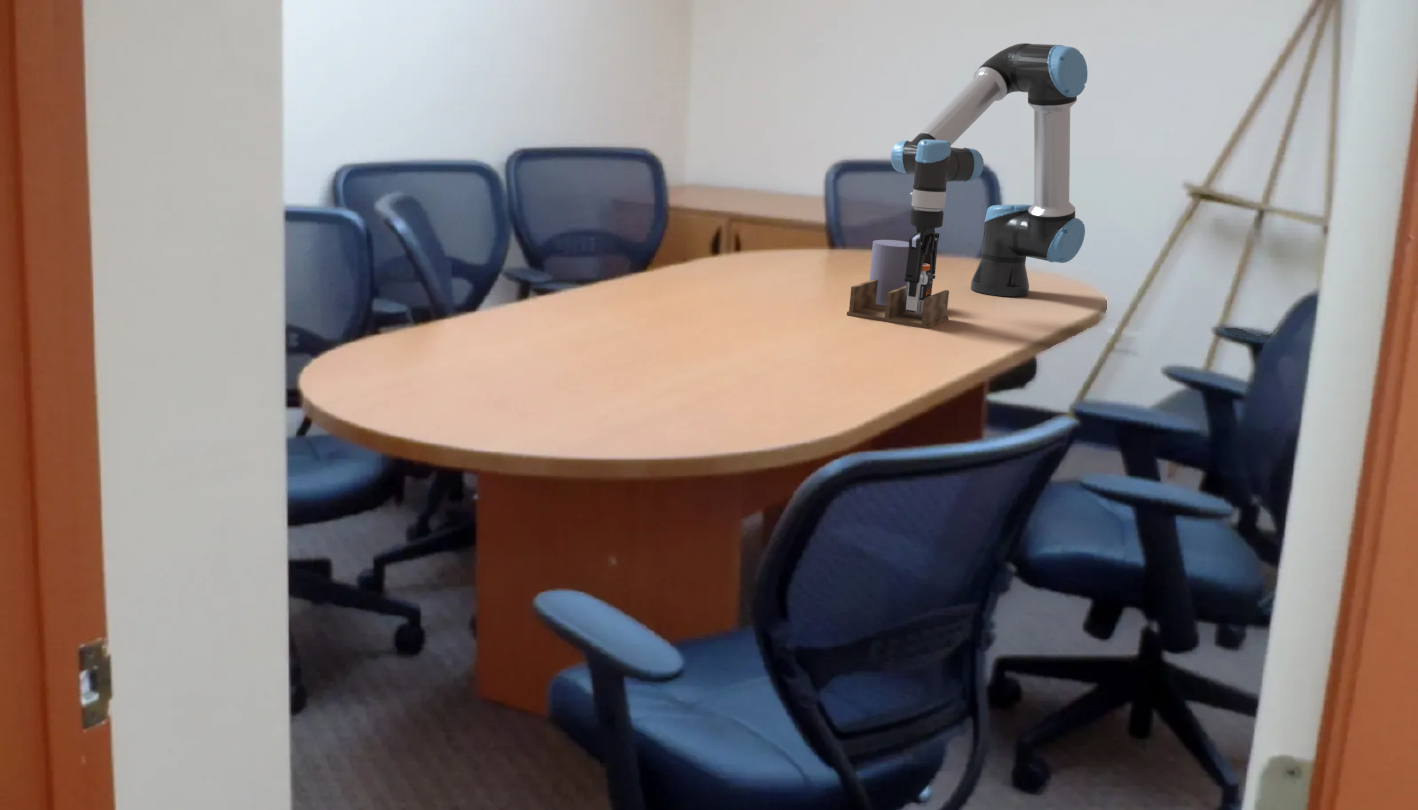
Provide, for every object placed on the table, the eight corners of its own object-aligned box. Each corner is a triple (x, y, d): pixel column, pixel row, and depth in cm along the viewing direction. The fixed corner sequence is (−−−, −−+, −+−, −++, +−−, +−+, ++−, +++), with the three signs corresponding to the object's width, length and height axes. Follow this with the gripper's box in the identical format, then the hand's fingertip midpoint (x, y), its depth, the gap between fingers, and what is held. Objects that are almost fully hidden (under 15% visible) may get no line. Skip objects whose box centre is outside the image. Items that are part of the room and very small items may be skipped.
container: (872, 297, 340) (878, 238, 336) (913, 302, 337) (919, 242, 333) (862, 304, 330) (868, 243, 326) (904, 309, 327) (910, 248, 323)
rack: (869, 306, 329) (872, 278, 327) (948, 319, 319) (951, 290, 318) (846, 315, 317) (849, 286, 315) (927, 328, 308) (930, 299, 306)
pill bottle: (928, 315, 312) (933, 266, 309) (903, 312, 313) (907, 264, 310) (930, 310, 318) (935, 262, 315) (904, 308, 319) (909, 260, 316)
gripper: (926, 203, 319) (916, 299, 325) (896, 210, 303) (886, 311, 309) (956, 207, 315) (946, 304, 322) (928, 214, 299) (917, 316, 305)
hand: (917, 307), depth 315 cm, fingers closed on pill bottle, 6 cm apart
